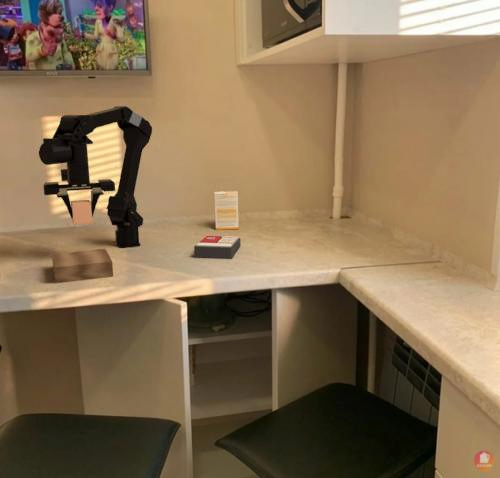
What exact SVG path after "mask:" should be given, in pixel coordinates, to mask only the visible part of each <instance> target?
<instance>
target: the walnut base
mask: <svg viewBox="0 0 500 478" xmlns="http://www.w3.org/2000/svg"><path fill="white" fill-rule="evenodd" d="M51 259H52V268H53V269H52V270H53V276H54V282H55V284H59V283H68V282H69V283H70V282H75V281H76V282H77V281H84V280H85V281H87V280H94V279H103V278H112V277H114V270H113V269H114V268H113V265H114V264H113V261H112V259H111V256H110V254H109V252H108V250H107V248H99V249H87V250H86V249H85V250H78V251H68V252H66V251H65V252H58V253H55V252H54V253H51Z"/></svg>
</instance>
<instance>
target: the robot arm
mask: <svg viewBox="0 0 500 478" xmlns="http://www.w3.org/2000/svg"><path fill="white" fill-rule="evenodd" d="M114 123H117V127H118V128H119V129H120V130H121V132H122V133H123V134H122V139H123V141H124V144H125V151H124V156H123V162H122V166H121V171H120V172H121V173H120V176H119V182H118V188H117V192H116V193H115V194H114V195H109V197H108V201H107V202H108V203H107V207H106V208H105V209H106V211H107V212H106V214H107V216H108V219H109V220H110V223H111V225H112V226H116V229H115V230H114V234H115V235H114V236H115V237H114V238H115V243H116V245H117V246H118V247H119V248H128V247H138V246H139V247H140V246H141V243H140V237H139V235H140V234H139V233H140V232H139V228H140V227H141V226H143V224H144V218H143V216H141V214H140V213H139V212H138V211H137V208H138V207H137V206H138V203H137V200H136V198H135V190H136V185H137V179H138V174H139V170H140V164H141V159H142V155H143V150H144V148H145V147H146V146H147V145H148V144H149V143H150V139H151V136H152V132H153V126H152V125H151V123H150V121H148V120H147V119H146V118H144V117H143V116H141V115H140V114H138V113H136V112H135V111H133V110H132V109H131V107H128V106H126V105H125V106H124V105H123V106H114V107H112V108H108V109H103V110H99V111H96V112H91V113H88V114H64V115H62V116H61V117H60V120H59V124H58V126H57V128H56V130H55V132H54V134H53V137H52V138H47V137H46V138H42V142H43V143H41V145H40V147H39V151H38V156H39V159H40V161H41V162H42V164H44V165H46V166H50V165H59V164H66V168H63V169H62V168H61V169H60V176H61V177H60V178H61V179H60V180H61V182H67V183H65V184H59V181H52V182H50V181H47V182H44V183H43V194H44V196H52V195H53V196H54V195H56V197H57V198H61V199H62V201H63V202H64V205H65V206H66V208H67V211H68V214H69V215H70V218H71V219H72V218H73V213H72V209H71V200H70V195H69V194H68V192H71V191H73V192H74V191H86V190H87V191H89V190H90V202H91V211H92V218H93V217H94V215H95V214H94V213H95V211H96V206H97V203H98V201H99V199H100V197H101V196H102V195H104V192H115V191H116V184H115V182H114V181H113V180H112V179H111V178H108V179H107V178H104V179H98V180H97V181H98V182H91V180H90V168H89V155H88V145H93V144H94V142H93V140H92V139H91V138H89V136H88V135H90V134H92V133H93V132H94V130H95V129H97V128H100V127H103V126H104V127H105V126H107V125H111V124H114Z"/></svg>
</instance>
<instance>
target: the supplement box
mask: <svg viewBox="0 0 500 478" xmlns="http://www.w3.org/2000/svg"><path fill="white" fill-rule="evenodd" d="M213 195H214V197H213V198H214V199H213V200H214V220H215V222H214V223H215V230H216V231H222V230H223V231H224V230H225V231H226V230H239V229H240V225H239V223H240V221H239V193H238V190H220V191H219V190H217V191H214V193H213Z"/></svg>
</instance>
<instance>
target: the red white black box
mask: <svg viewBox="0 0 500 478" xmlns="http://www.w3.org/2000/svg"><path fill="white" fill-rule="evenodd" d="M240 248H241V238H239V236H234V235H233V236H228V235H227V236H226V235H225V236H222V235H206V236H205V237H204V238H202V239H201V240H200V241H199V242H198V243H196V244H195V245H194V246H193V249H194V251H193V254H194V255H193V256H194V259H216V260H217V259H218V260H219V259H220V260H233V259H234V258H235V255H236V253H237V252H238V250H239V249H240Z"/></svg>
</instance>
